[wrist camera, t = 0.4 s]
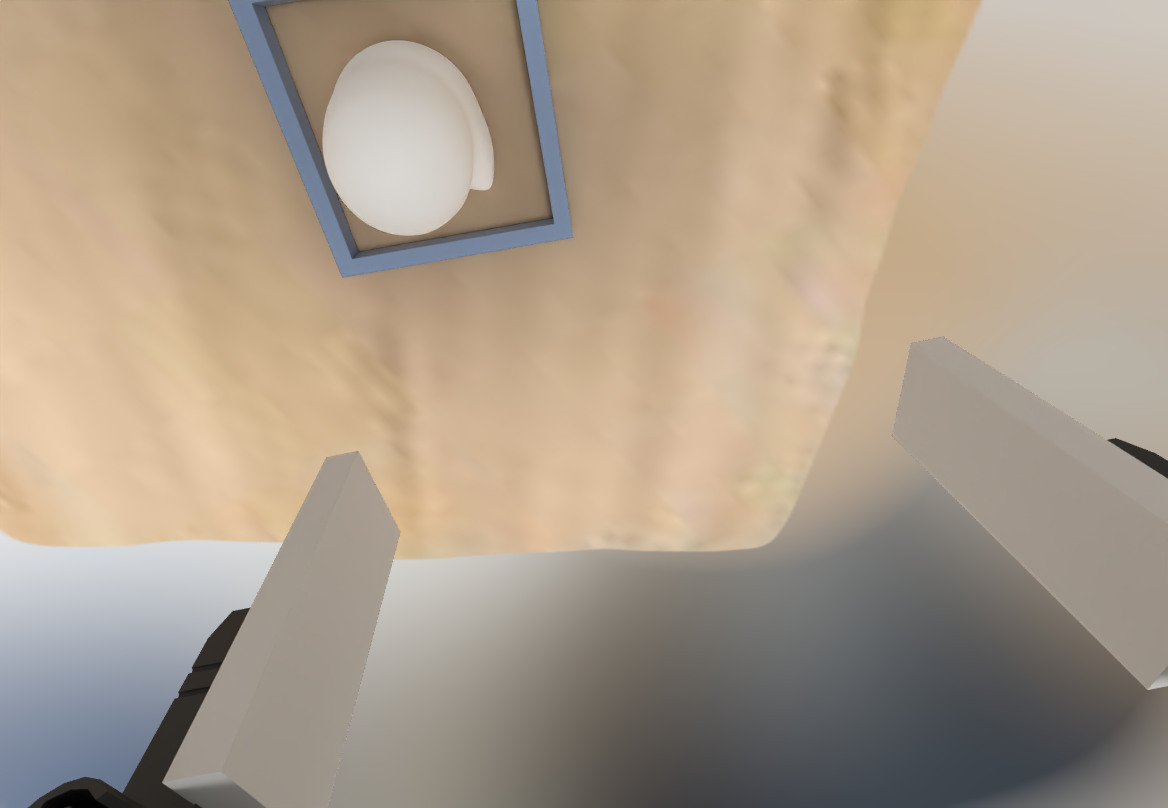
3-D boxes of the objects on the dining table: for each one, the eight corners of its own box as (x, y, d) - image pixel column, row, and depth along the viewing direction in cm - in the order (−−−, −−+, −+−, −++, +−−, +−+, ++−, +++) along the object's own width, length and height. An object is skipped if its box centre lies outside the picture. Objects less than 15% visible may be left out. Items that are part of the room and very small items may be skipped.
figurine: (397, 210, 32) (339, 273, 22) (332, 67, 28) (224, 63, 18) (507, 175, 31) (500, 223, 21) (458, 25, 27) (421, -3, 17)
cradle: (234, -16, 26) (219, -20, 24) (525, -65, 26) (525, -72, 24) (349, 269, 33) (342, 277, 32) (571, 231, 34) (573, 237, 32)
